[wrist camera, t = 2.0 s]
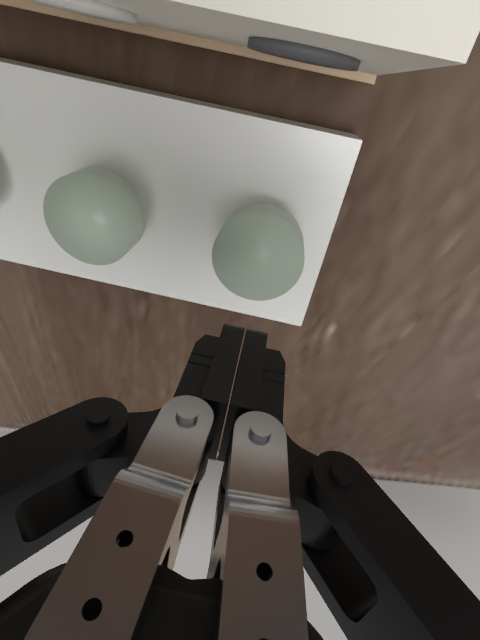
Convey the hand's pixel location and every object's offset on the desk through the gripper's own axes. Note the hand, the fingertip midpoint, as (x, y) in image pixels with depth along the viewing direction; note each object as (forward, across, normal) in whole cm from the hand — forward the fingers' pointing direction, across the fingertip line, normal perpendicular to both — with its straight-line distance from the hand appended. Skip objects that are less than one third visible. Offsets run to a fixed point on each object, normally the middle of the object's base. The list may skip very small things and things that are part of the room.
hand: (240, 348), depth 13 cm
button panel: (+15, +9, 0) cm, 17 cm away
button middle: (+10, +9, 0) cm, 13 cm away
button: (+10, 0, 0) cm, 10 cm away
